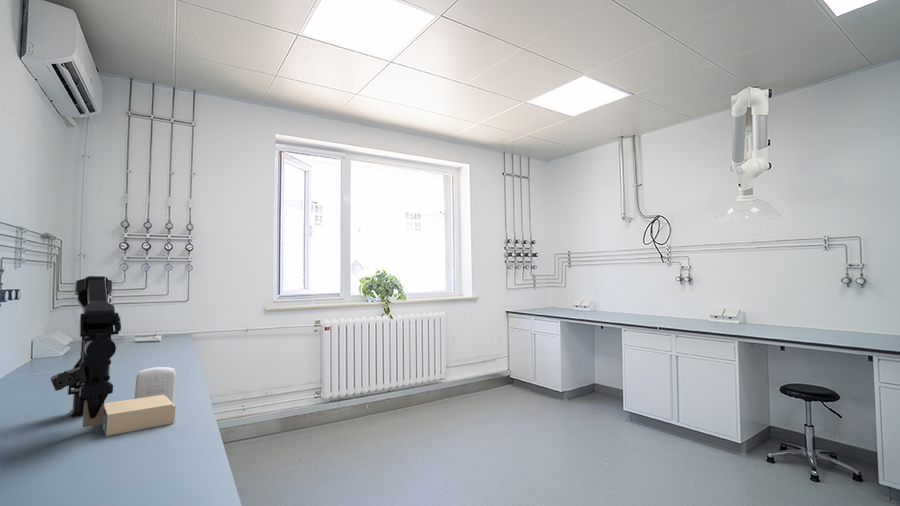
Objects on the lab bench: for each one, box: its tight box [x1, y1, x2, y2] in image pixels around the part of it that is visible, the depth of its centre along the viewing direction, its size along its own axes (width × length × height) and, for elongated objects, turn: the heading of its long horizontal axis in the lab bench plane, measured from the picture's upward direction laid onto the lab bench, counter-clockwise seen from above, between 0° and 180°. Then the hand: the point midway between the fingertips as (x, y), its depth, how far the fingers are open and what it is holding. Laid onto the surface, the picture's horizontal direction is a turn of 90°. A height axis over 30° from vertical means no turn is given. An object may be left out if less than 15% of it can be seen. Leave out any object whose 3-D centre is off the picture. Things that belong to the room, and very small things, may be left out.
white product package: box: [134, 366, 177, 405], centre depth 130 cm, size 10×4×12 cm, turn 123°
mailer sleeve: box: [104, 395, 176, 437], centre depth 115 cm, size 14×15×5 cm
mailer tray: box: [82, 400, 107, 433], centre depth 114 cm, size 12×18×7 cm, turn 133°
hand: (92, 417), depth 109 cm, fingers closed on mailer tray
